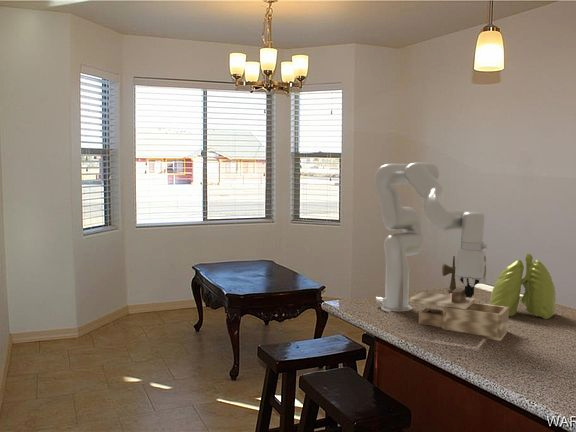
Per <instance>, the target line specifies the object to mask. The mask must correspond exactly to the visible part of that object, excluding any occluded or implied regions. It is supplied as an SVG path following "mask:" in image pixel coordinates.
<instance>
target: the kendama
mask: <svg viewBox="0 0 576 432" xmlns="http://www.w3.org/2000/svg"><path fill="white" fill-rule="evenodd" d="M455 257H456V256H455V255H453V258H452V266H450V265H447V264H446V263H442V265H441V274H442V276H443V277H446V276H447V275H449V274H451V276H450V277H451V278H450V284H449V287H448V288H447V292H448V295H449V294H450V293H452V291H453V290H455V289H456V288H457V285H456V284H457V283H456V279H455V275H456V274H455V268H456V258H455Z"/></svg>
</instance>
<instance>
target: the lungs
mask: <svg viewBox="0 0 576 432" xmlns="http://www.w3.org/2000/svg"><path fill="white" fill-rule="evenodd" d="M533 259H534V257H533V255H532V253H525V267H524V263H523V261H522V260H520V259H517V260H515V261H514V262H513V263H511V264H509V265H508V266H506V267H505V268H504V269H503V271H502V272H501V273H500V274H499V275H498V278H497V280H496V281H495V283H494V286H493V288H492V290H491V294H490V299H489V302H488V304H489V305H497V306H504V307H509V317H513V316H515V315H516V314H517V310H518V308H519V307H518V306H519V303H520V302H521V304H522V305H523V306H525V308H526V312H527V313H528V314H531V315H533V316H535V317H541V318H543V319H544V320H548V319H550V318H552V317H553V316H554V315H555V314H556V301H557V300H556V299H557V297H556V295H557V293H556V287H555V284H554V282H553V279H552V278H553V277H552V276H551V273H550V271H549V270H548V268H547V267H546V266H545V265H544V263H542V261H541V260H539V259H536V260H534V261H533ZM524 268H525V275H524V274H523V272H524ZM523 275H524V276H523ZM522 286H523V288H524V293H523V295H522V296H520V295H521V291H522Z"/></svg>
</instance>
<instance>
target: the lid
mask: <svg viewBox="0 0 576 432" xmlns="http://www.w3.org/2000/svg"><path fill="white" fill-rule="evenodd" d="M409 302H410V303H411V302H412V303H417V304H423V305H430V306H431V305H432V306H438V307H439V306H440V307H444V306H445V307H452V308H459V309H467V308H468V307H469V306H470V305H472V304H473V303H476V298H474V297H471V298H469V297H466V294H465V287H456V289H455V290H453V291H452V296H451V295H449V294H442V293H435V292H434V293H433V292H426V291H420V292H418V293H416V294H415V295H413V296H411V297H410V298H409V300H408V303H409Z"/></svg>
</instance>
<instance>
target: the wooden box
mask: <svg viewBox="0 0 576 432" xmlns="http://www.w3.org/2000/svg"><path fill="white" fill-rule="evenodd" d="M509 317H510V316H509V307H504V306H497V305H489V303H480V302H474V303H473V304H472V305H470V306H469V307H468V308H467V309H459V308H452V307H445V306H442V309H437V308H429V307H425V308H424V309H423V310H421V311H419V312H418V325H427V326H430V327H431V326H432V327H438V328H442V330H447V331H453V332H459V333H465V334H471V335H472V334H473V335H479V336H483V339H487V340H492V341H499V342H500V341H502V340H503V339H504V337H505V336H506V335H507V333H508V332H509Z"/></svg>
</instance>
